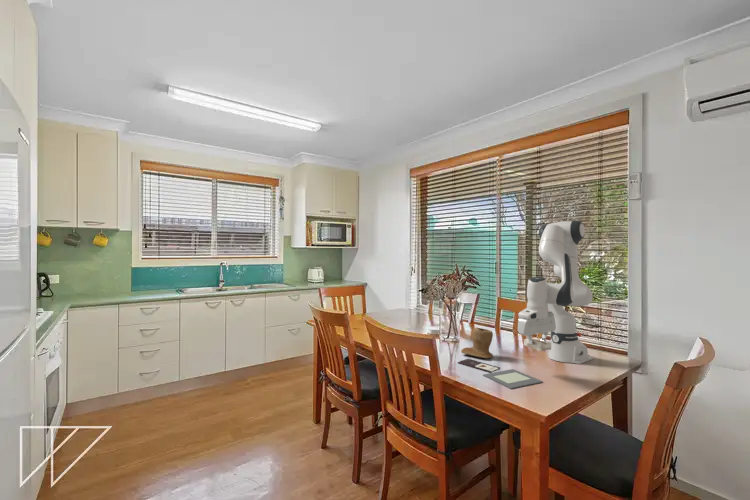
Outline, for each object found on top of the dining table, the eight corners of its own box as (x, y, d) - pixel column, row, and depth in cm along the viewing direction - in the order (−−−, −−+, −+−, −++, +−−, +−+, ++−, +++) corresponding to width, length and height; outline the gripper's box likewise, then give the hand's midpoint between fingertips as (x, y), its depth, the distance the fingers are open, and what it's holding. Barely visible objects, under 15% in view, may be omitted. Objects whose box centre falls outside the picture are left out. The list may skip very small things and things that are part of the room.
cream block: (523, 345, 169) (523, 338, 169) (533, 343, 171) (533, 337, 171) (541, 351, 160) (541, 344, 160) (551, 349, 162) (551, 342, 162)
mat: (513, 370, 171) (513, 368, 171) (542, 382, 155) (542, 381, 155) (482, 375, 164) (482, 374, 164) (510, 389, 148) (510, 387, 148)
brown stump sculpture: (497, 356, 192) (497, 328, 192) (486, 361, 184) (486, 332, 184) (471, 350, 203) (471, 324, 203) (460, 355, 194) (460, 327, 194)
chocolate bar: (468, 358, 187) (499, 367, 173) (468, 360, 187) (499, 369, 173) (457, 362, 181) (489, 371, 167) (457, 364, 181) (489, 373, 167)
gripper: (547, 309, 172) (547, 338, 173) (515, 313, 164) (515, 343, 164) (559, 311, 167) (559, 341, 167) (526, 315, 158) (526, 347, 159)
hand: (537, 342), depth 166 cm, fingers closed on cream block, 6 cm apart
